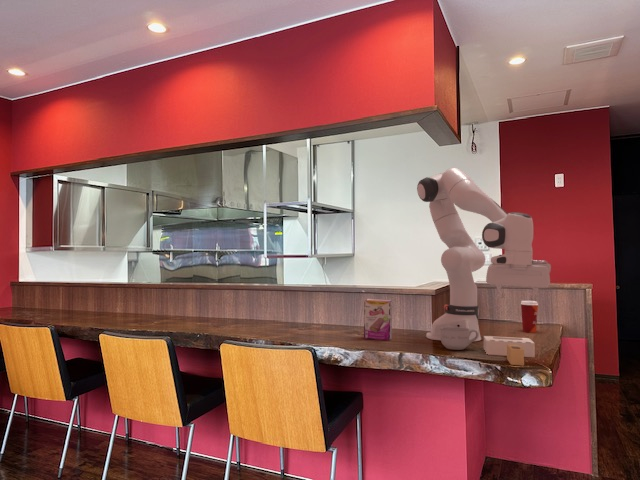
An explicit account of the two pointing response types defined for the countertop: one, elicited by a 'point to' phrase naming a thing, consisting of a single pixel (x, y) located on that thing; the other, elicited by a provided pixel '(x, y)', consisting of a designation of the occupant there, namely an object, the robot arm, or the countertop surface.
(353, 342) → the countertop surface
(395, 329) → the countertop surface
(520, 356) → the stub
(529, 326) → the paper cup
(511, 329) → the countertop surface
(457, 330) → the teacup
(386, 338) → the candy bar box
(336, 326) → the countertop surface
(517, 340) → the ticket block
